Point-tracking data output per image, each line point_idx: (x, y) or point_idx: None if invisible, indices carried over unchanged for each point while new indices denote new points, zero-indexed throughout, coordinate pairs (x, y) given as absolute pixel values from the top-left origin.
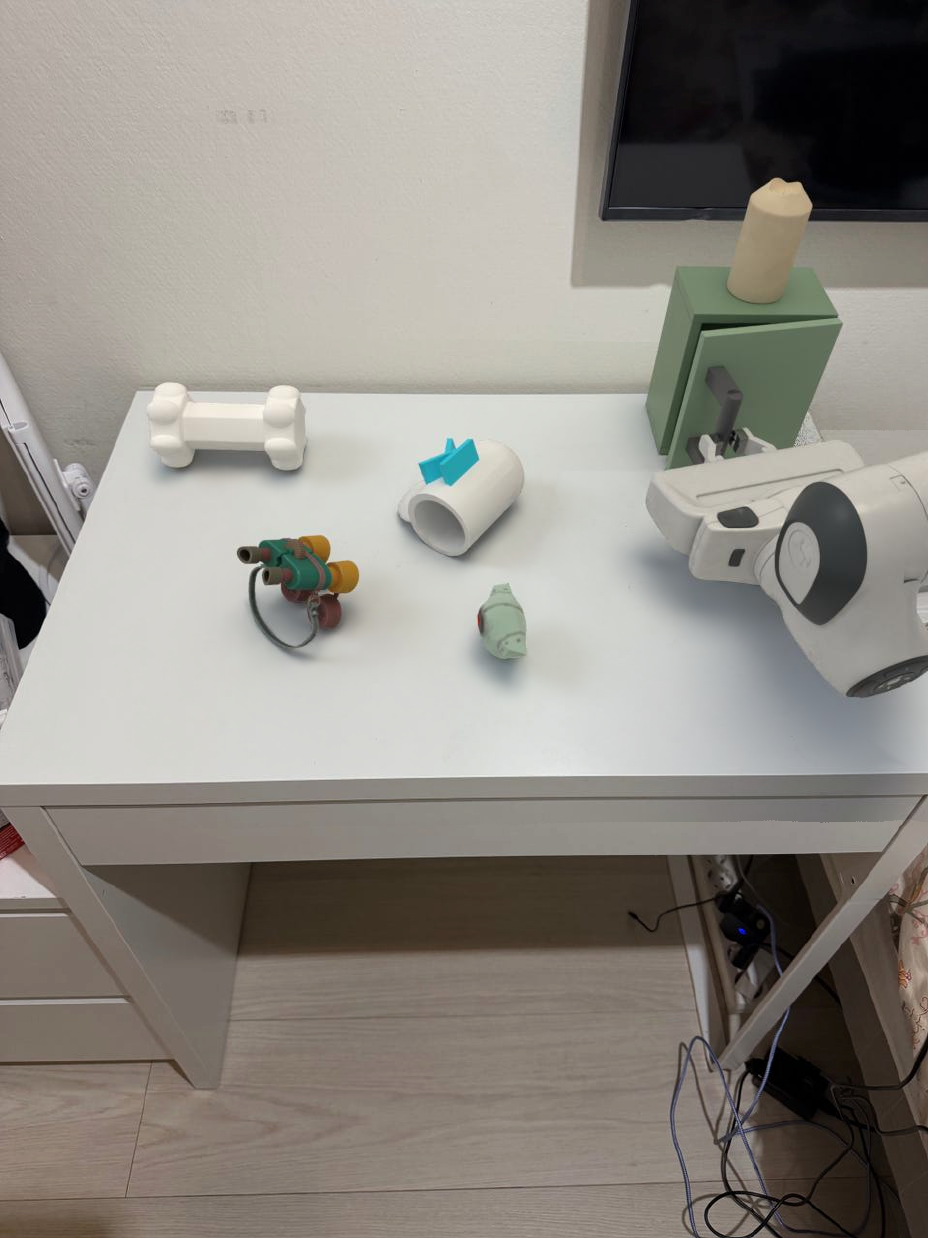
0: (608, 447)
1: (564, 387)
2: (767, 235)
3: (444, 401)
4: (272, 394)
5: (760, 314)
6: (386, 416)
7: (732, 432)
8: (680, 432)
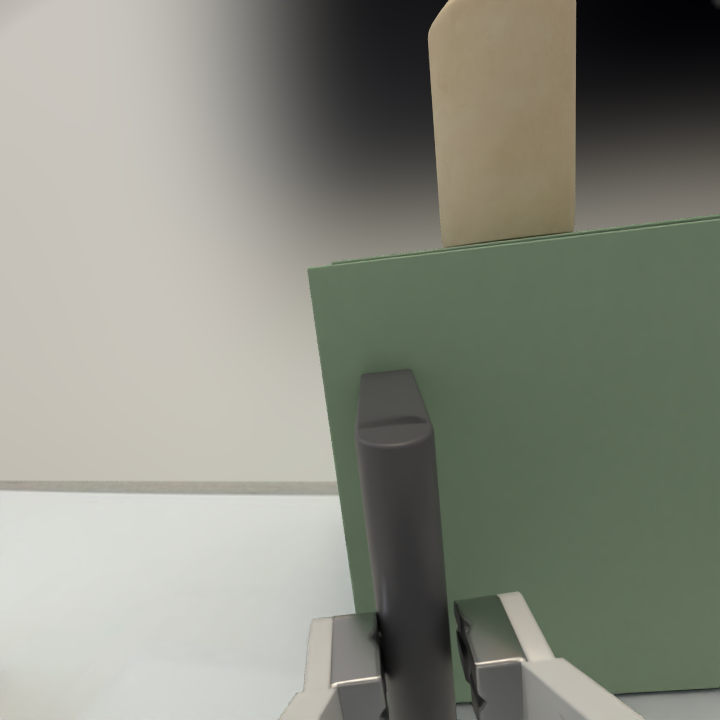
0: (282, 598)
1: (292, 485)
2: (469, 55)
3: (119, 502)
4: None
5: (507, 241)
6: (22, 521)
7: (455, 613)
8: (355, 582)
